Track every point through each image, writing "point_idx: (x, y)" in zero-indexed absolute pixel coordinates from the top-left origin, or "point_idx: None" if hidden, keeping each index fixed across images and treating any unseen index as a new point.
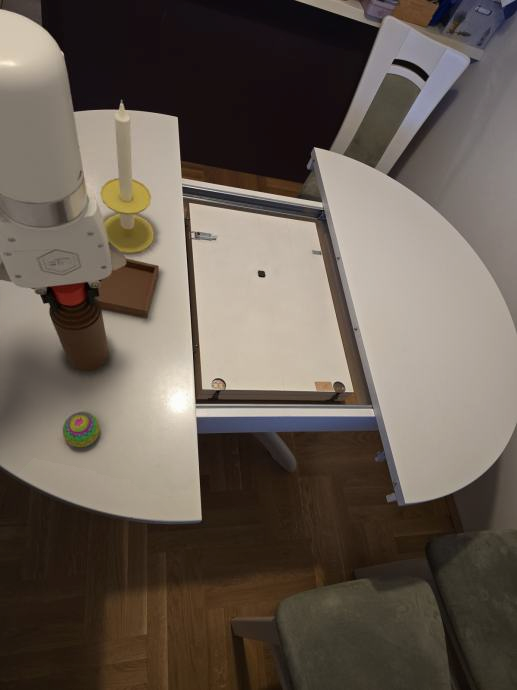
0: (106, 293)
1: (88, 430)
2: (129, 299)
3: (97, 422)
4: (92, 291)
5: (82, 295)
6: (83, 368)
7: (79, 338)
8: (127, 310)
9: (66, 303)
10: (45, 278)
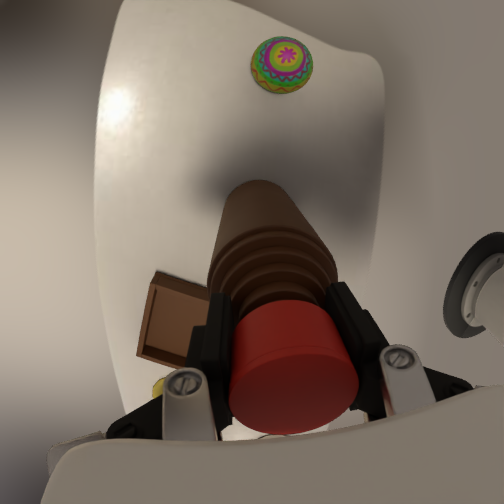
0: None
1: (270, 43)
2: (183, 306)
3: (253, 64)
4: (202, 353)
5: (245, 337)
6: (269, 182)
7: (272, 211)
8: (185, 287)
9: (306, 308)
10: (454, 477)
